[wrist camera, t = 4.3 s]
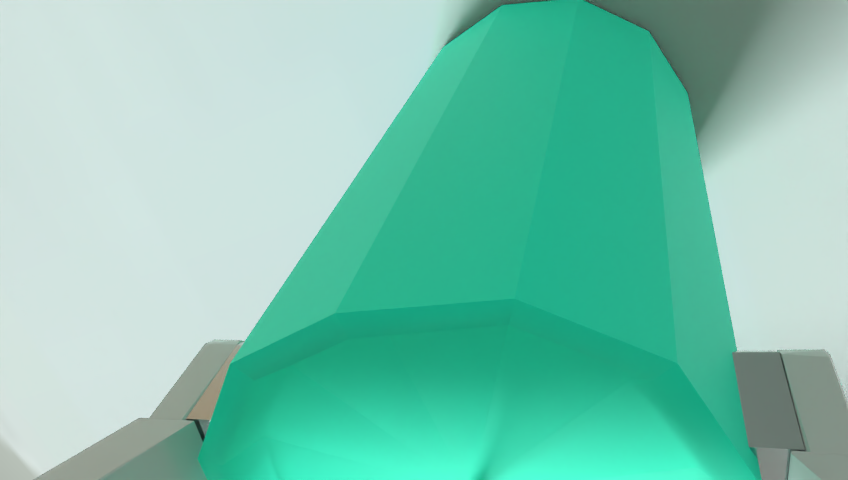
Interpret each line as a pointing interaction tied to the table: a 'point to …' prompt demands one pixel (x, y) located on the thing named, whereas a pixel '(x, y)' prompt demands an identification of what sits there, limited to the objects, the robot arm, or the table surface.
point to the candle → (505, 283)
